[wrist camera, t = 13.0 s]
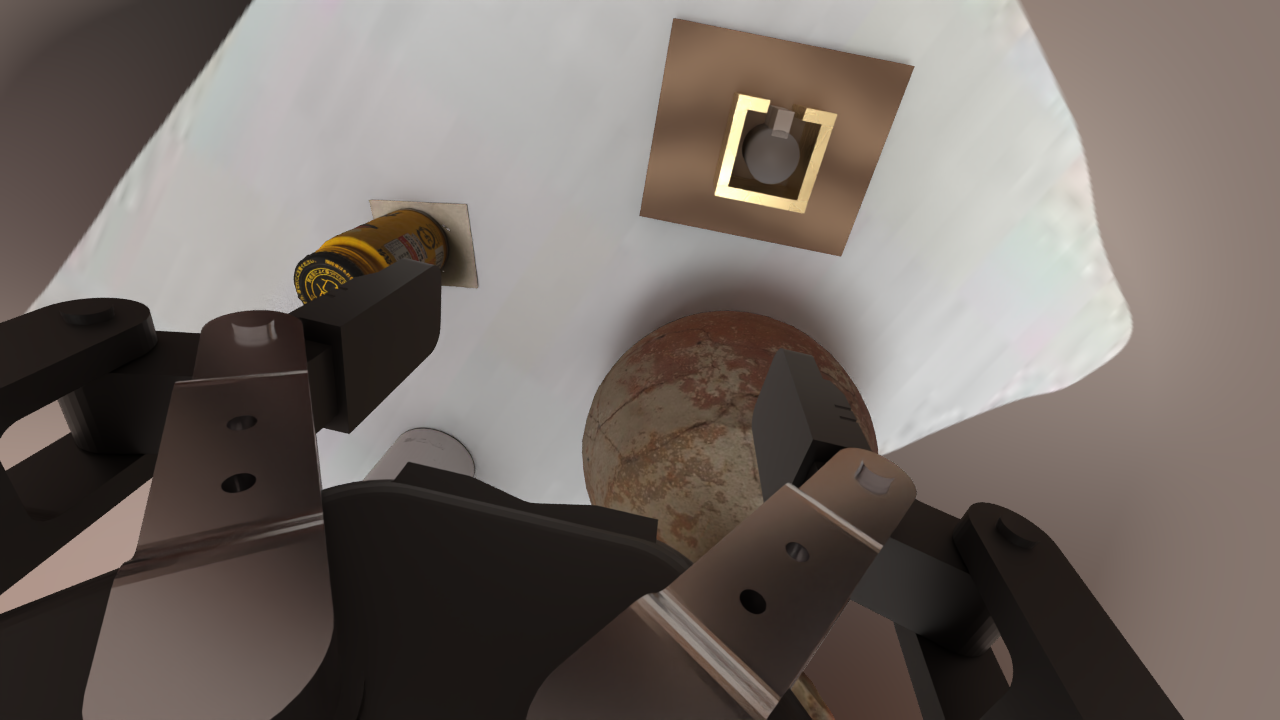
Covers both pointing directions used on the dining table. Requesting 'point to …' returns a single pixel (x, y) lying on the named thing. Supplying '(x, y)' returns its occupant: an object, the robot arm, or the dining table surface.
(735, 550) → the robot arm
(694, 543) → the jug
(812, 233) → the keyed stand
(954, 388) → the dining table surface
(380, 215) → the condiment
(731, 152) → the collar
